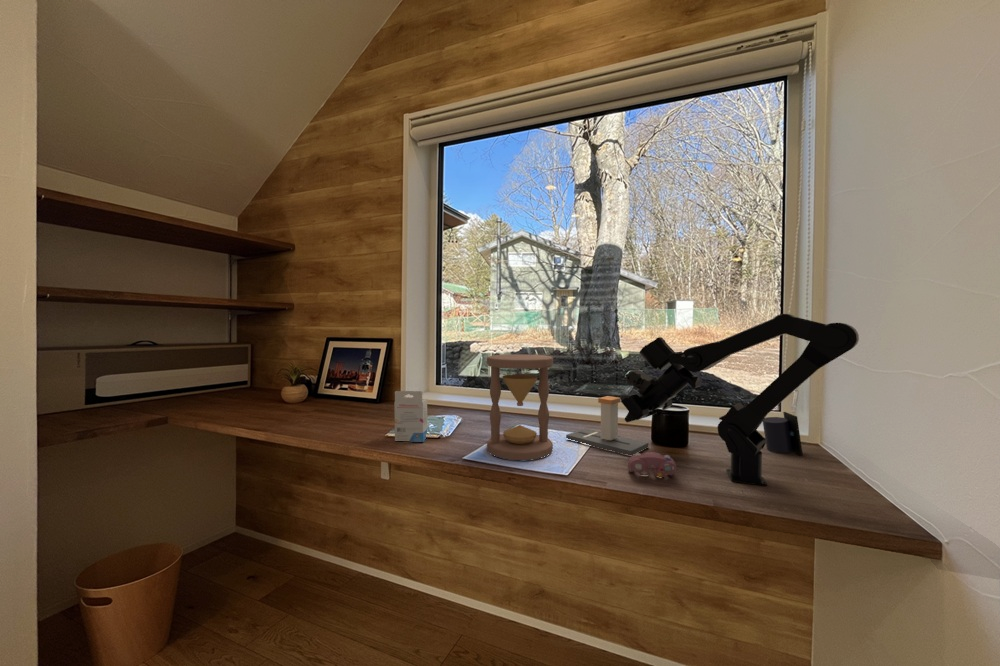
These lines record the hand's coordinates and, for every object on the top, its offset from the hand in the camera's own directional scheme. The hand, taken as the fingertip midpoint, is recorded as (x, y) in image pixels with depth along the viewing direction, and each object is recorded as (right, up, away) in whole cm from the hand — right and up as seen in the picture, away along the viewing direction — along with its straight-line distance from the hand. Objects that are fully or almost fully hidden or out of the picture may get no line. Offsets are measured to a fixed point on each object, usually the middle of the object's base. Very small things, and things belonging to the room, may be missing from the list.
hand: (626, 420), depth 103 cm
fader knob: (-4, -6, +4) cm, 8 cm away
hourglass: (-29, -8, -1) cm, 30 cm away
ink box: (-60, -8, +8) cm, 61 cm away
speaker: (+40, -8, -2) cm, 41 cm away
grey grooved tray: (-4, -8, +4) cm, 10 cm away
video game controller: (-1, -8, -18) cm, 20 cm away
